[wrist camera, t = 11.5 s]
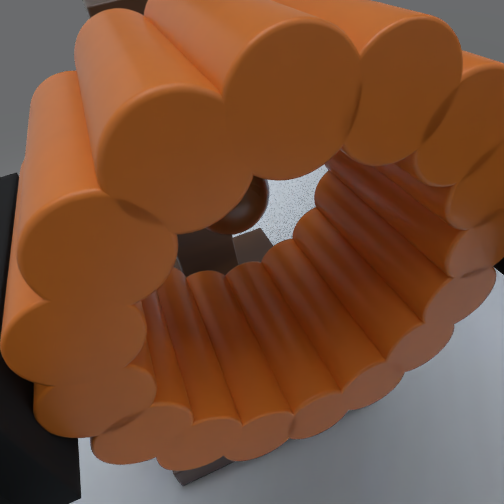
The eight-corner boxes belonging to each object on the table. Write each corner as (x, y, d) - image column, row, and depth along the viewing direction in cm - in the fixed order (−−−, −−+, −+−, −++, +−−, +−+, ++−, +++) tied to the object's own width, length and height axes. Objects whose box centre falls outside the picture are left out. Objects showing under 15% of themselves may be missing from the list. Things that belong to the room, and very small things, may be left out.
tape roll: (370, 254, 14) (393, -77, 8) (474, 361, 11) (644, -74, 5) (113, 355, 13) (-92, 35, 7) (138, 520, 9) (-250, 161, 3)
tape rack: (134, 290, 29) (-8, 2, 17) (263, 242, 31) (214, -48, 19) (190, 521, 18) (-107, 153, 6) (386, 424, 20) (456, -4, 8)
